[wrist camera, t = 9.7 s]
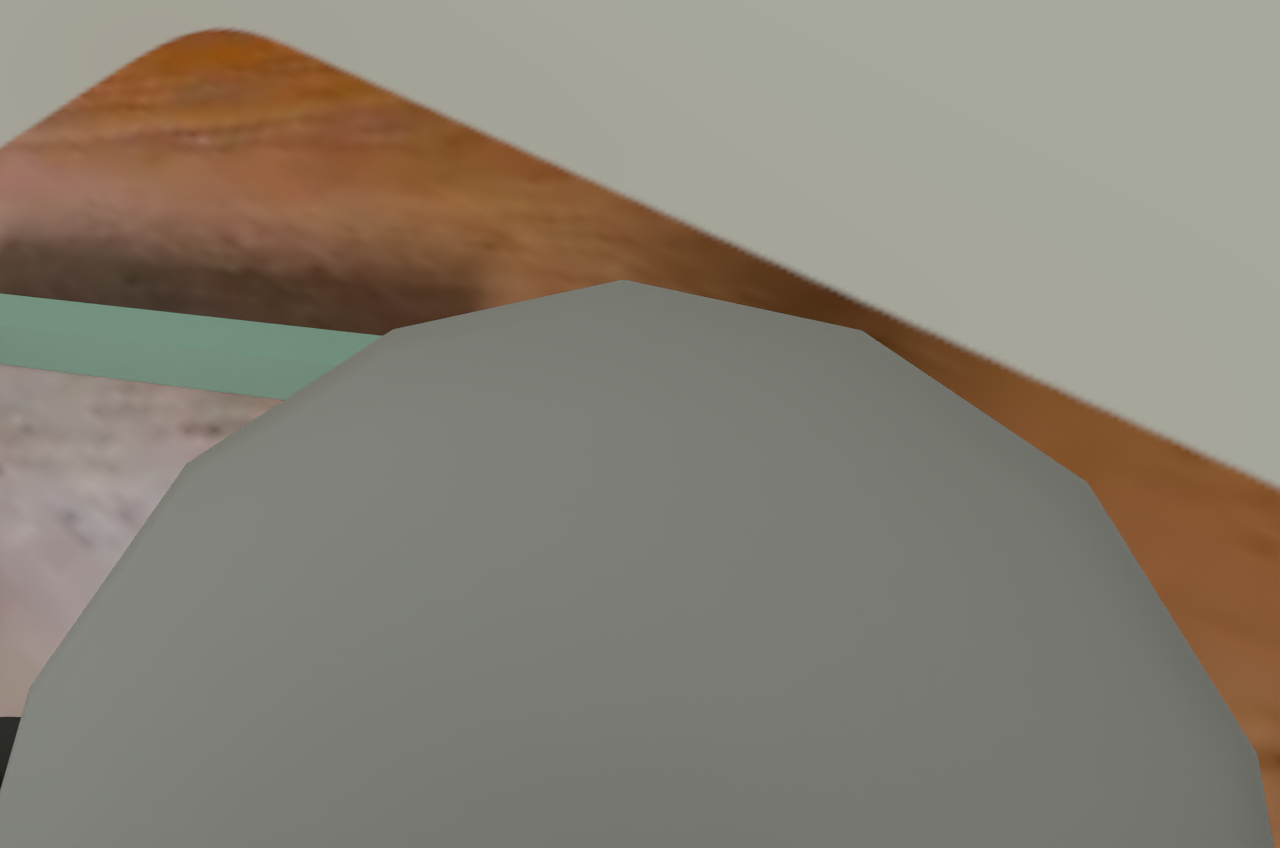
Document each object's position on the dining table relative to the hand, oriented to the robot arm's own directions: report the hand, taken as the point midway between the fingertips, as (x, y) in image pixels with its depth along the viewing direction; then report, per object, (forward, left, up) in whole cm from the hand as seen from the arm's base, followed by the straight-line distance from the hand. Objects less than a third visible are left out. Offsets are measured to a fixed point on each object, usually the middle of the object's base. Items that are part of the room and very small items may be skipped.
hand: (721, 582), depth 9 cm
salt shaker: (0, +2, -6) cm, 6 cm away
